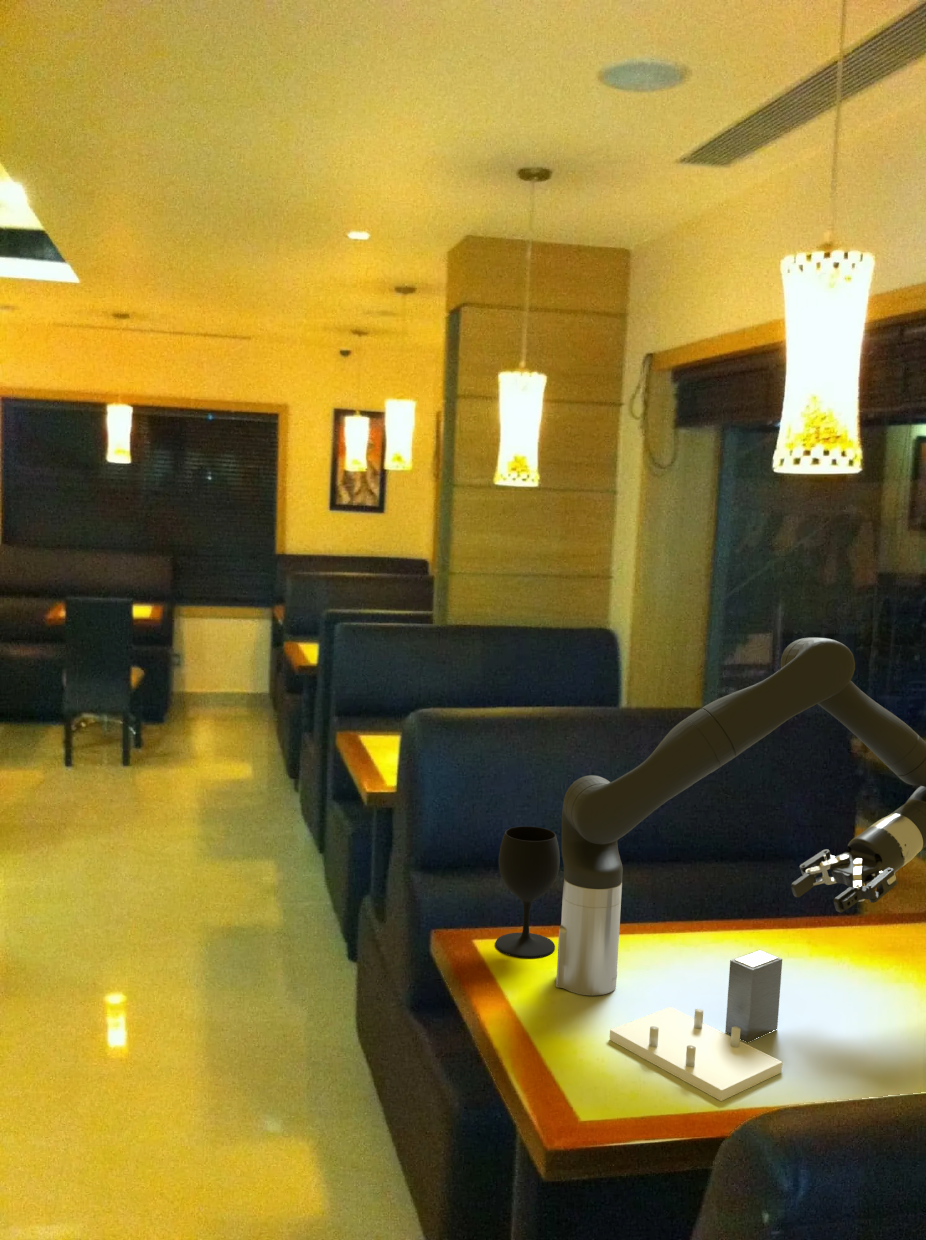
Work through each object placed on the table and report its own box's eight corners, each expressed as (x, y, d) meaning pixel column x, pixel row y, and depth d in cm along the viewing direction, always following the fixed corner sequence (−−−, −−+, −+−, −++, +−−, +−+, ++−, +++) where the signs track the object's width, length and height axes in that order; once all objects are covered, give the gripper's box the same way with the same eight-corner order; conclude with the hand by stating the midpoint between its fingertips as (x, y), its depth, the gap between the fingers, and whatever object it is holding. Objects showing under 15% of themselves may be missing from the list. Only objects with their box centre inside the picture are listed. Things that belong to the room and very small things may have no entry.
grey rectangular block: (725, 1032, 165) (730, 959, 163) (754, 1020, 169) (759, 948, 168) (747, 1043, 161) (752, 969, 160) (777, 1030, 166) (782, 958, 165)
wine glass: (511, 962, 187) (516, 845, 184) (485, 938, 196) (490, 827, 194) (566, 954, 191) (572, 839, 189) (538, 931, 200) (543, 822, 198)
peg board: (609, 1039, 161) (610, 1013, 160) (669, 1016, 169) (671, 991, 168) (721, 1101, 145) (723, 1072, 145) (781, 1072, 153) (783, 1044, 153)
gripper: (843, 817, 180) (773, 866, 174) (917, 835, 168) (845, 889, 161) (855, 857, 182) (786, 908, 175) (929, 878, 170) (858, 934, 163)
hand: (814, 899), depth 168 cm, fingers open, 8 cm apart
